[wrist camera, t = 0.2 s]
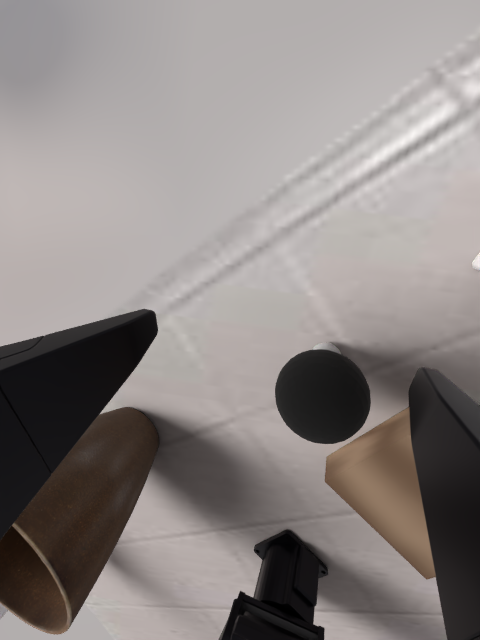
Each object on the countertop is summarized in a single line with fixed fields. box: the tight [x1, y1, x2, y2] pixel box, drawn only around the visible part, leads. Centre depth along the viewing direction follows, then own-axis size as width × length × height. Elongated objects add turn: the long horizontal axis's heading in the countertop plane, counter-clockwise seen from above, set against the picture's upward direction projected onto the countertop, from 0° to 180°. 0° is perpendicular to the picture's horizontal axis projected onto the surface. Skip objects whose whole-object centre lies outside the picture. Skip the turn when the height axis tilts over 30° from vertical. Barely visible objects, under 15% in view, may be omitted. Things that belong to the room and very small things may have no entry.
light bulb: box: [275, 342, 371, 444], centre depth 20 cm, size 6×6×10 cm
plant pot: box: [0, 407, 159, 634], centre depth 29 cm, size 15×15×16 cm
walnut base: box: [325, 407, 436, 579], centre depth 23 cm, size 12×12×3 cm
